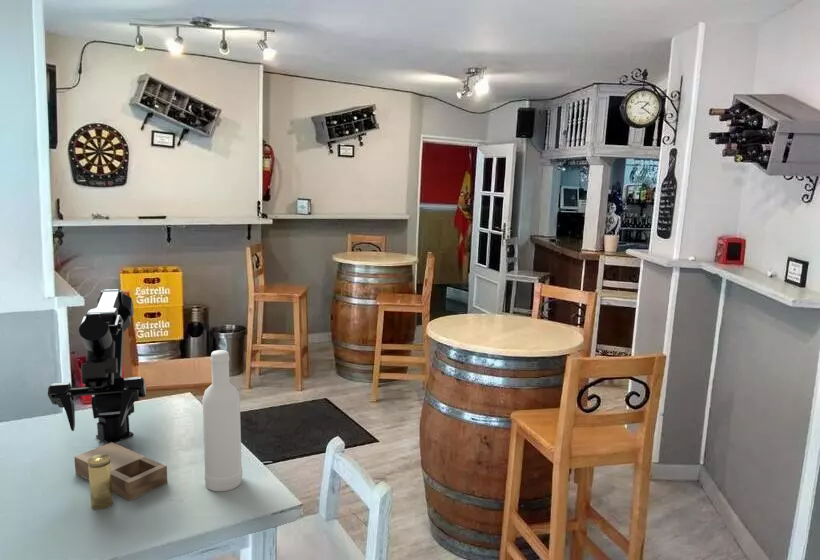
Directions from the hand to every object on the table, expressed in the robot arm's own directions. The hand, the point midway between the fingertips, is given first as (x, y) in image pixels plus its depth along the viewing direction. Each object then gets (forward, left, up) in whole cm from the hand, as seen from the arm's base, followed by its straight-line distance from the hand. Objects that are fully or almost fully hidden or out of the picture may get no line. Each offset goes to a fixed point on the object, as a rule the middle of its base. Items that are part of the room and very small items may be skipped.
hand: (96, 428), depth 134 cm
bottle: (-16, +21, -13) cm, 29 cm away
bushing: (+4, +7, -13) cm, 16 cm away
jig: (-4, +1, -13) cm, 14 cm away
